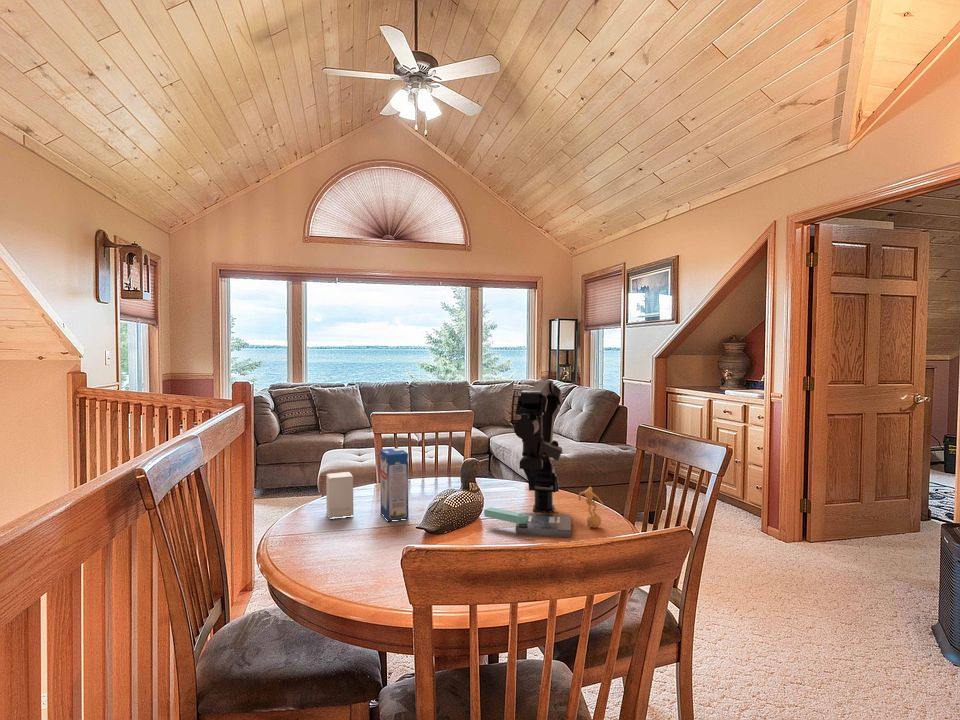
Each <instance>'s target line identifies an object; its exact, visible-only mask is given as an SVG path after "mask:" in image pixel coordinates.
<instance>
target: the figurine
mask: <svg viewBox="0 0 960 720" xmlns="http://www.w3.org/2000/svg"><path fill="white" fill-rule="evenodd" d="M582 495H584V496H585V498H586V499H585V502H586V504H587V505H588V507H587V508H588V512H589V515H588V516H587V518H586V522H587V524H588V525H587V526H589V527H591V528H594V529H597V528H599V527H600V526H601V524H602V518H601V516H600V515H599V514H598V513H596V512H595V511H596V510H597V507H598V505H597V504H596V502H595V500H593V498H596V499H597V500H598V502H600V503H601V505H602V506H603V507H605V505H604V502H603V501H602V500H601V498H599V496H598V495H596V494H595V493H594V492H593V487H592V486H589V487H588V488H587V489H586V490H583V491H581V492H579V493H578V501H581V500H582V498H581V497H582ZM592 506H593V508H592ZM591 509H592V510H591Z"/></svg>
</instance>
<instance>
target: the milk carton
mask: <svg viewBox="0 0 960 720" xmlns="http://www.w3.org/2000/svg"><path fill="white" fill-rule="evenodd" d="M379 459H380V460H379V465H380V466H379V468H380V469H379V471H380V472H379V475H380V476H379V479H380V481H379V482H380V484H379V485H380V489H379V490H380V495H379V497H380V500H379V501H380V514H381V513H382V514H383V515H384V517H385V518H386V519H387V520H388V521H392V520H401V519H409V453H408V452H406V451H405V450H403V449H402V448H400V447H397V448H383V449H379ZM382 514H381V515H382ZM384 517H383V518H384ZM385 518H384V519H385ZM386 519H385V520H386Z"/></svg>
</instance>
